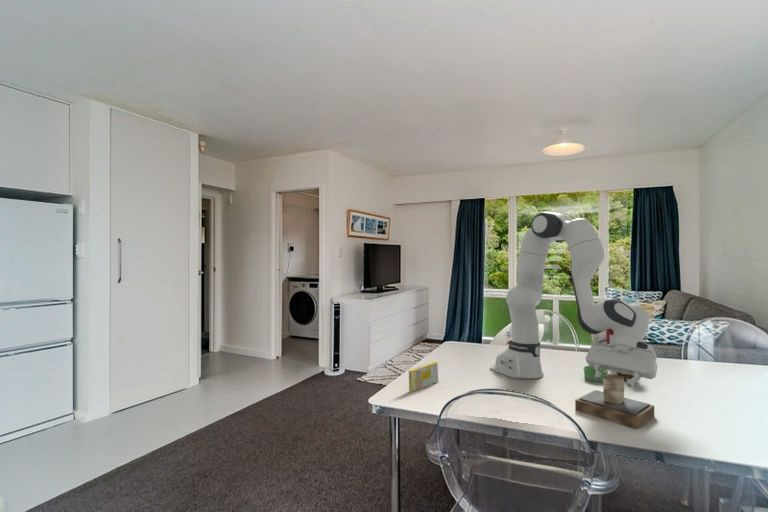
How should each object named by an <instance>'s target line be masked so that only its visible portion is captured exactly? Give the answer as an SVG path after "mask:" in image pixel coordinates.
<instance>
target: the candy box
mask: <svg viewBox="0 0 768 512" xmlns="http://www.w3.org/2000/svg"><path fill="white" fill-rule="evenodd" d="M438 365H439V364H438V362H437V361H433V362H431V363H427V364H424V365H421V366H418V367H416V368H412V369H410V370H408V389H409V391H411V392H410V393H414V392H413V391H415V392H417V391H416V390H418V391H420V390H422V389H421V388H423V389H424V387H425V388H427V387H426V386H428V387H430V386H432V385H431V384H433V383H435V384H437V383H436V382H438V383H439V371H438V370H439V369H438V368H439V366H438ZM429 385H430V386H429ZM433 385H434V384H433ZM419 389H420V390H419Z"/></svg>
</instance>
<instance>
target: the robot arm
mask: <svg viewBox="0 0 768 512" xmlns="http://www.w3.org/2000/svg"><path fill="white" fill-rule="evenodd" d="M553 242H556V243H564V242H565V244H566V246H567V249H568V251H569V254H570V259H571V271H570V277H571V283H572V288H573V293H574V298H575V302H576V306H577V307H576V308H577V310H576V311H577V317H576V318H577V323H578V324H579V326H580V327H581V329H582V330H584V332H586V333H588V334H590V335H598V334H600V333H603V332H606V330H607V329H610V328H611V329H612V330H613V331H614V334H613V337H612V340H611V342H610V344H607V343H605V342H603V343H602V342H598V341H597V342H595V343H593V344H591V345H590V349H589V350H588V352H587V354H586V356H585V361H586V363H587V366H592V367H595V370H596V374H595V378H596V379H600V380H601V379H602V374H601V373H600V372H599V371H601V369H606V370H608V371H611V372H616V373H617V372H620V373H624V374H629V375H633V376H634V377H633V378H632V379H628V380H627V383H626V385H627V387H630V388H634V386H635V384H636V383H637V382H639V381H641V378H643V379H649V380H653V379H655V378H656V377H657V372H658V363H657V358H658V357H657V353H656V351H655V349H654V347H653V346H652V345H651V344H648V343H646V342H644V338H645V337H646V335H647V332H648V329H649V324H650V316H649V312H648V310H646V308H644V307H643V306H641V305H639V304H635V303H629V304H628V303H625V302H624V301H622V300H621V299H619V298H616V297H610V298H606V299H604V300H603V299H602V300H601V301H599V302H597V303H595V300H594V296H593V291H592V286H591V282H592V278H593V276H594V274H595V273H596V271H597V270H598V269H599V268H600V267H601V266H602V263H603V262H604V260H605V250H604V247H603V246H604V245H603V244H602V241H601V239H600V237H599V235H598V232H597V231H596V229H595V228H594V226H593V224H592V222H591V221H590V220H588V219H587V218H584V217H583V218H582V217H581V218H580V217H579V218H578V217H577V218H575V217H573V216H572V215H567V214H564V213H561V212H560V213H559V212H550V211H542V212H539V213H537V214H535V215H534V216H533V218H532V220H531V223H530V228H528V229H527V230H526V231H525V234H524V237H523V238H522V243H521V244H520V248H519V249H520V250H519V253H518V259H517V264H516V272H517V276H516V277H517V282H516V285H514V286H513V287H511V288H510V289H509V290H508V292H507V293H506V297H505V301H506V303H507V306H508V310H509V316H510V321H511V340H508V341H507V342H506V345H508V348H506V349H505V350H503V351H502V352H500V353H499V354H498V355H496V358H495V363H494V364H491V365H490V368H489V369H490V371H494V372H496V373H498V372H499V373H498V374H502V375H504V376H507V377H509V378H512V379H530V380H531V379H540V378H543V377H544V371H543V369H542V365H541V358H540V357H541V342H540V338H539V337H540V331H539V330H540V329H539V327H540V326H539V325H540V324H539V320H538V318H537V317H538V316H537V311H536V306H537V307H538V305H539V304H540V303H541V302H542V299H543V288H544V275H545V274H544V273H545V267H546V264H547V262H546V261H547V257H548V254H549V247H550V245H551V244H552V243H553Z"/></svg>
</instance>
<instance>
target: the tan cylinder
mask: <svg viewBox="0 0 768 512" xmlns="http://www.w3.org/2000/svg"><path fill="white" fill-rule="evenodd" d="M602 384H603V387H602V389H603V391H602V392H603V396H604V401H606V402H610V403H614V404H617V405H619V404H621V403H622V402H624V398H625V381H624V377H623V376H618V375H617V374H614V373H613V374H612V373H608V374H607V375H605V376H603V382H602Z"/></svg>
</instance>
